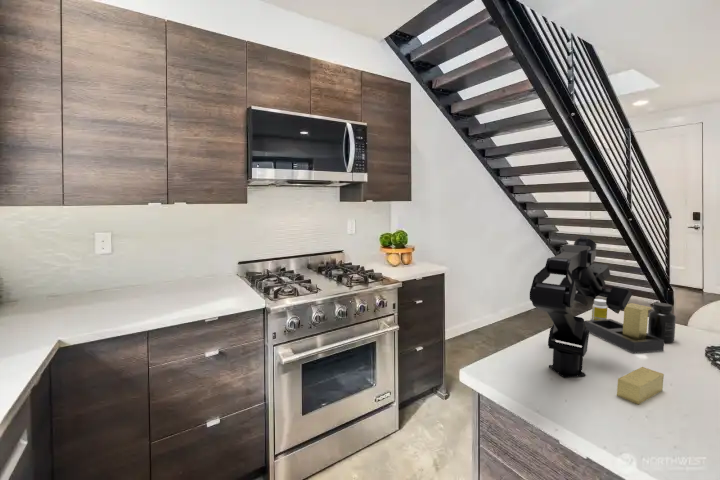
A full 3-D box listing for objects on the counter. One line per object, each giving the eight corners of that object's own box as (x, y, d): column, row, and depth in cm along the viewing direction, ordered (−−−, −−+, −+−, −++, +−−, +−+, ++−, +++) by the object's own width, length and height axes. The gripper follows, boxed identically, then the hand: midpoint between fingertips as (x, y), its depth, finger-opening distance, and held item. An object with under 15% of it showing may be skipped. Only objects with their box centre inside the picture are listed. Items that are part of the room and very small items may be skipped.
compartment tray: (633, 353, 109) (634, 342, 109) (583, 330, 129) (584, 320, 129) (663, 351, 111) (664, 340, 110) (609, 328, 130) (610, 318, 130)
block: (638, 405, 83) (639, 386, 82) (616, 396, 87) (617, 378, 86) (662, 391, 89) (663, 373, 88) (641, 383, 92) (642, 366, 92)
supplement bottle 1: (609, 323, 135) (610, 302, 134) (596, 323, 135) (598, 302, 134) (601, 319, 140) (602, 298, 139) (588, 319, 140) (590, 298, 139)
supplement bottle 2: (672, 338, 121) (674, 303, 119) (676, 345, 115) (679, 308, 114) (646, 334, 124) (648, 300, 123) (648, 340, 119) (651, 305, 117)
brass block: (638, 349, 111) (641, 309, 110) (619, 343, 116) (621, 305, 115) (648, 345, 114) (651, 307, 112) (628, 339, 119) (631, 302, 117)
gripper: (631, 260, 98) (648, 294, 104) (564, 252, 114) (583, 281, 120) (613, 292, 95) (632, 325, 101) (547, 279, 111) (567, 308, 118)
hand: (602, 308), depth 110 cm, fingers open, 9 cm apart
